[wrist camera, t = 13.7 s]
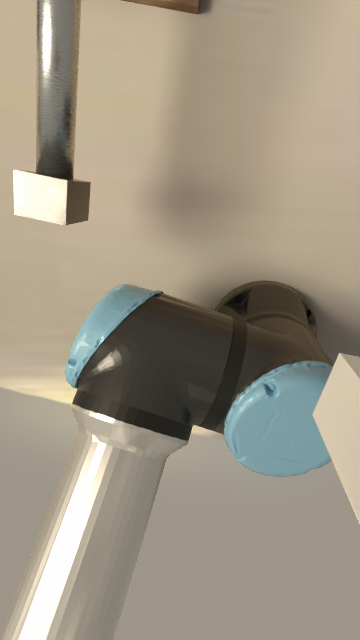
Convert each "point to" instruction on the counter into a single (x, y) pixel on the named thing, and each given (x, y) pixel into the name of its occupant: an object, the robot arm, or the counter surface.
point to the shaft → (55, 121)
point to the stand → (173, 4)
